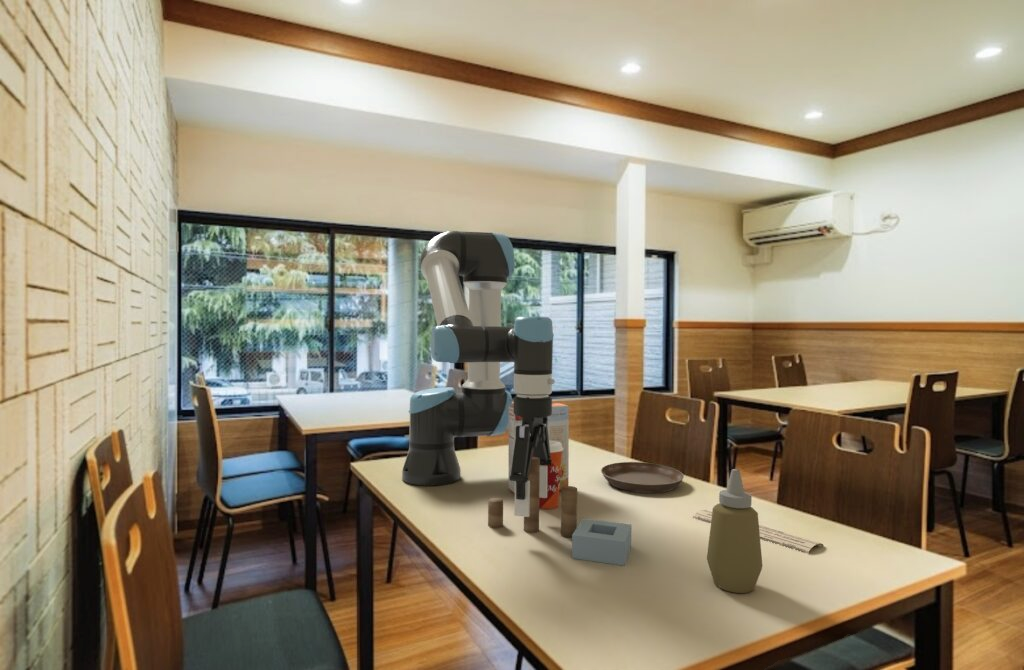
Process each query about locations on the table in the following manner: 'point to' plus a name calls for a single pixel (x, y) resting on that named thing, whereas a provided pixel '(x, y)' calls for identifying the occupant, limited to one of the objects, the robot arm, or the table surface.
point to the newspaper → (771, 535)
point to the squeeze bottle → (734, 539)
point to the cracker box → (556, 432)
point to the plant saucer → (642, 477)
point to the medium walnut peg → (568, 511)
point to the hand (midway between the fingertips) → (531, 505)
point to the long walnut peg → (533, 497)
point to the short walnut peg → (495, 513)
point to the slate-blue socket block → (602, 541)
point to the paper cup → (552, 477)
